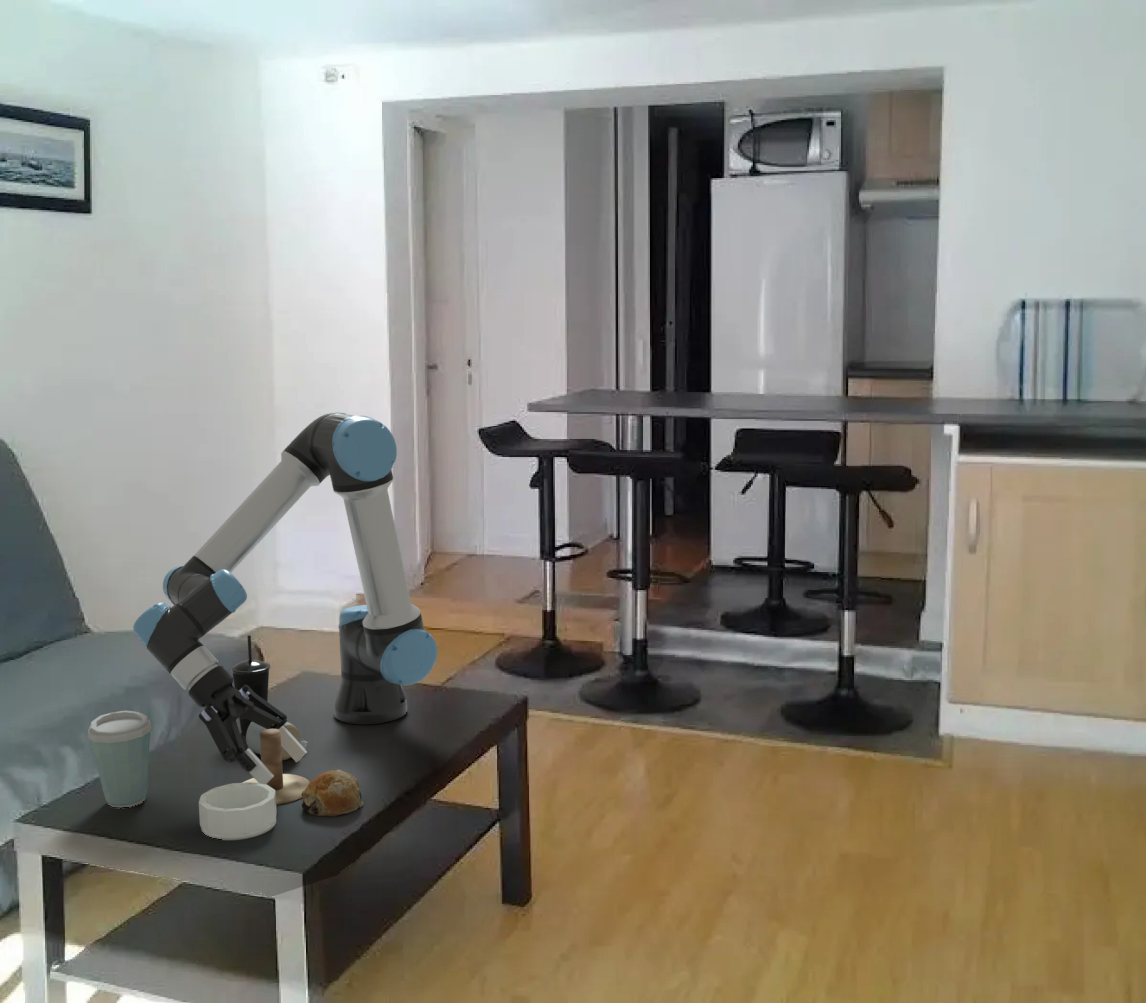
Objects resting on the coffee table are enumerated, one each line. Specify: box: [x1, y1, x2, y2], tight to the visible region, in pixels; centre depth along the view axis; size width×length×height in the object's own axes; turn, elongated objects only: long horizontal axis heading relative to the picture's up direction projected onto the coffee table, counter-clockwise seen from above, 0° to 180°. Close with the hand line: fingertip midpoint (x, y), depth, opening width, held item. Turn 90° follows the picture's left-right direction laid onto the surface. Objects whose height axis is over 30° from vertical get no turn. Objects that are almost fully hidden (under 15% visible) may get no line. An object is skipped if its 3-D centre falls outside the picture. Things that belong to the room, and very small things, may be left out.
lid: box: [241, 729, 311, 806], centre depth 224 cm, size 13×13×11 cm
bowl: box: [198, 782, 277, 841], centre depth 210 cm, size 12×12×5 cm
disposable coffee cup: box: [87, 710, 153, 808], centre depth 219 cm, size 11×11×15 cm
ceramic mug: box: [245, 721, 308, 761], centre depth 242 cm, size 11×8×8 cm
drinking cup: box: [230, 635, 271, 737], centre depth 254 cm, size 8×8×20 cm
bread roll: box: [301, 769, 364, 817], centre depth 217 cm, size 10×10×8 cm
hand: (285, 769), depth 223 cm, fingers open, 11 cm apart
